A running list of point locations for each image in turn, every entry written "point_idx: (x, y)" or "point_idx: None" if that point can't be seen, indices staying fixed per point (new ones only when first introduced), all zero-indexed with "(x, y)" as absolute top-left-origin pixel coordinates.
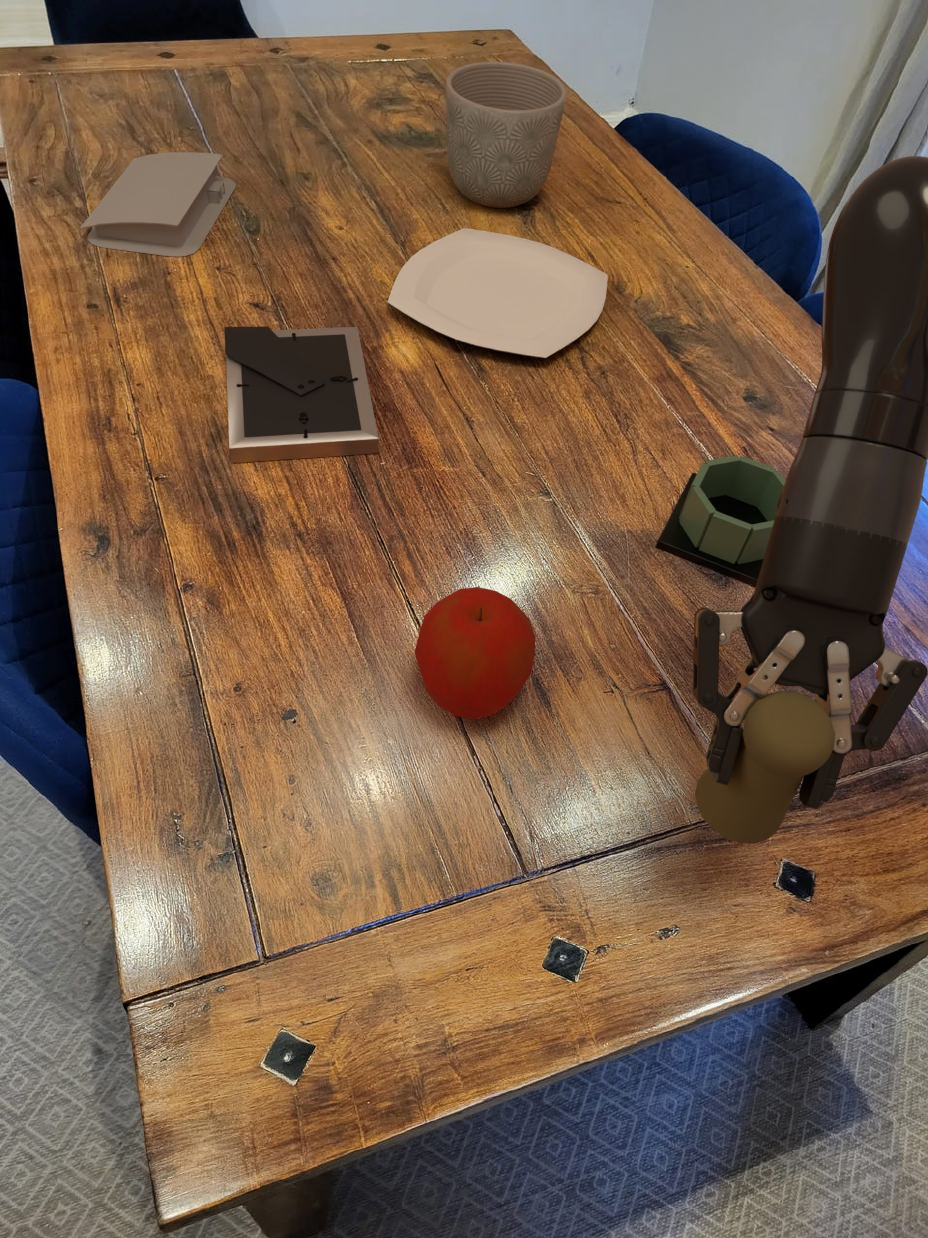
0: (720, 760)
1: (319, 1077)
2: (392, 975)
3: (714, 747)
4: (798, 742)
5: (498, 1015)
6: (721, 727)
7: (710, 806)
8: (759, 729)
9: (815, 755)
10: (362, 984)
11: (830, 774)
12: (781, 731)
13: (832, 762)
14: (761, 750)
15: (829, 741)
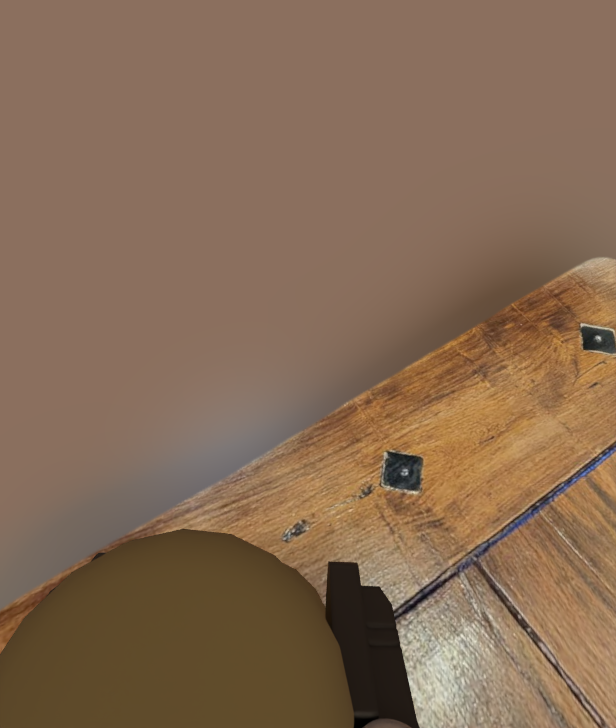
0: (365, 615)
1: (566, 331)
2: (556, 415)
3: (397, 647)
4: (158, 598)
5: (448, 405)
6: (407, 718)
7: (315, 597)
8: (319, 650)
9: (91, 569)
10: (577, 401)
11: None
12: (229, 644)
13: None
14: (292, 576)
15: (2, 665)
